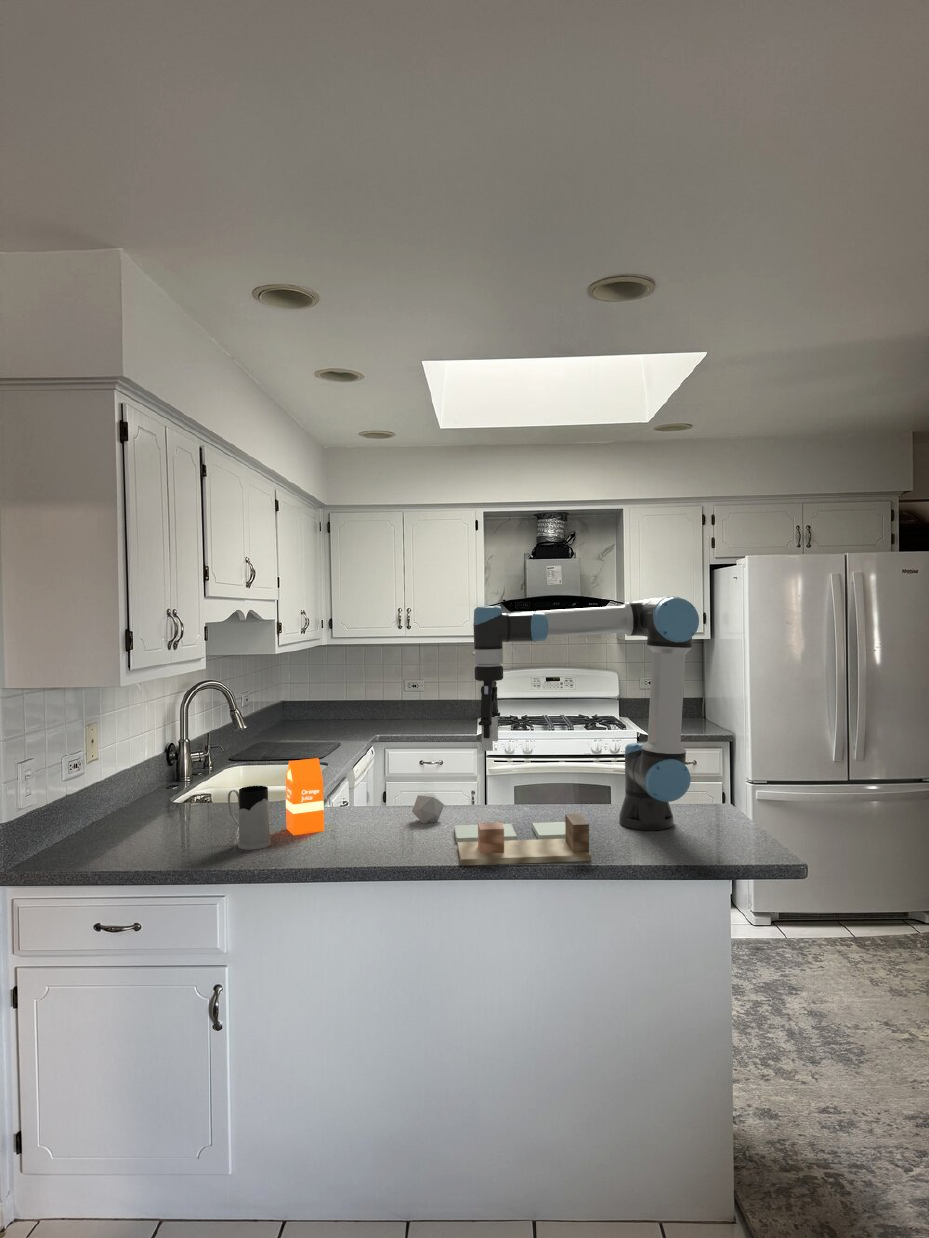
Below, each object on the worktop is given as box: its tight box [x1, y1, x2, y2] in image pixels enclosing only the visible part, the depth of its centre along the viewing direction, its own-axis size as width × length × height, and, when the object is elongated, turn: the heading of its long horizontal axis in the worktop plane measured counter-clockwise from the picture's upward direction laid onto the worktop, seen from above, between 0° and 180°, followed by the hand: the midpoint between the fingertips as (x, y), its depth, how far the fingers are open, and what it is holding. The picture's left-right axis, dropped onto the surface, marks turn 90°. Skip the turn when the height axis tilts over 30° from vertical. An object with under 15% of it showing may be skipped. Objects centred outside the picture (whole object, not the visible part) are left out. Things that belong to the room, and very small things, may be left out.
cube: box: [477, 821, 504, 854], centre depth 206 cm, size 6×6×6 cm
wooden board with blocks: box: [457, 813, 592, 866], centre depth 207 cm, size 32×14×8 cm, turn 94°
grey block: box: [411, 792, 445, 824], centre depth 239 cm, size 8×9×10 cm
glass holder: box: [227, 785, 272, 851], centre depth 220 cm, size 9×14×15 cm, turn 57°
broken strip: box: [453, 821, 566, 845], centre depth 224 cm, size 32×12×2 cm, turn 94°
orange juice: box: [285, 757, 325, 836], centre depth 231 cm, size 8×9×20 cm
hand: (490, 745), depth 215 cm, fingers open, 13 cm apart
